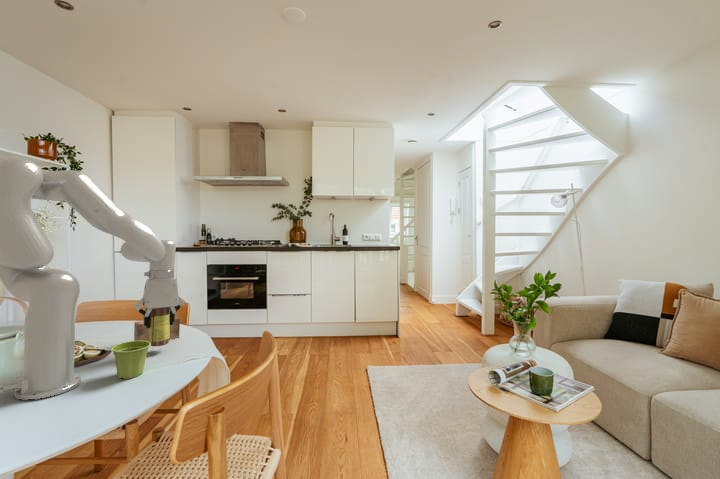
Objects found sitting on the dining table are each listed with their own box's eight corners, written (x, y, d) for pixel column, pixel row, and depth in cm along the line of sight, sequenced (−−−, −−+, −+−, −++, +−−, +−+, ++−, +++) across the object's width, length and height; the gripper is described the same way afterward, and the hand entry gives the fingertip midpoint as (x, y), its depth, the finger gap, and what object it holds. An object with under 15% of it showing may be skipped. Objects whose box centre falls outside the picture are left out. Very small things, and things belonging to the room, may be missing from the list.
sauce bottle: (173, 342, 112) (176, 287, 113) (160, 347, 106) (163, 289, 106) (156, 340, 113) (159, 286, 113) (142, 346, 107) (146, 288, 107)
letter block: (137, 346, 114) (137, 325, 114) (134, 342, 118) (134, 321, 118) (179, 338, 124) (180, 318, 124) (175, 335, 128) (176, 316, 128)
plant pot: (146, 365, 99) (147, 338, 99) (153, 375, 92) (153, 346, 92) (108, 373, 92) (109, 344, 92) (112, 385, 85) (113, 354, 85)
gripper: (134, 277, 101) (131, 332, 101) (192, 275, 113) (189, 324, 113) (129, 274, 106) (127, 327, 106) (185, 272, 119) (183, 320, 118)
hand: (159, 325), depth 110 cm, fingers closed on sauce bottle, 6 cm apart
